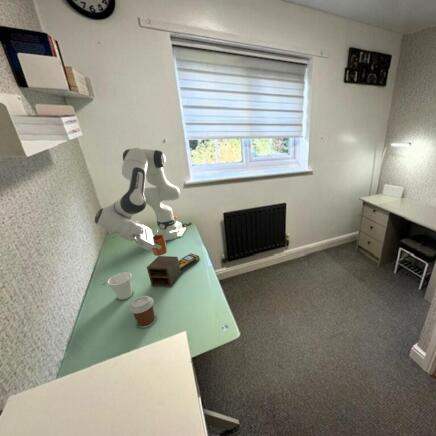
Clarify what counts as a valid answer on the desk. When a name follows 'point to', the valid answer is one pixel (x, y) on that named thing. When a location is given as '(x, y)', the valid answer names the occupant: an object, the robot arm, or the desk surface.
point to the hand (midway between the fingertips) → (159, 244)
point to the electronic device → (187, 261)
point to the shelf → (164, 266)
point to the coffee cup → (143, 311)
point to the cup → (121, 285)
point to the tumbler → (159, 244)
